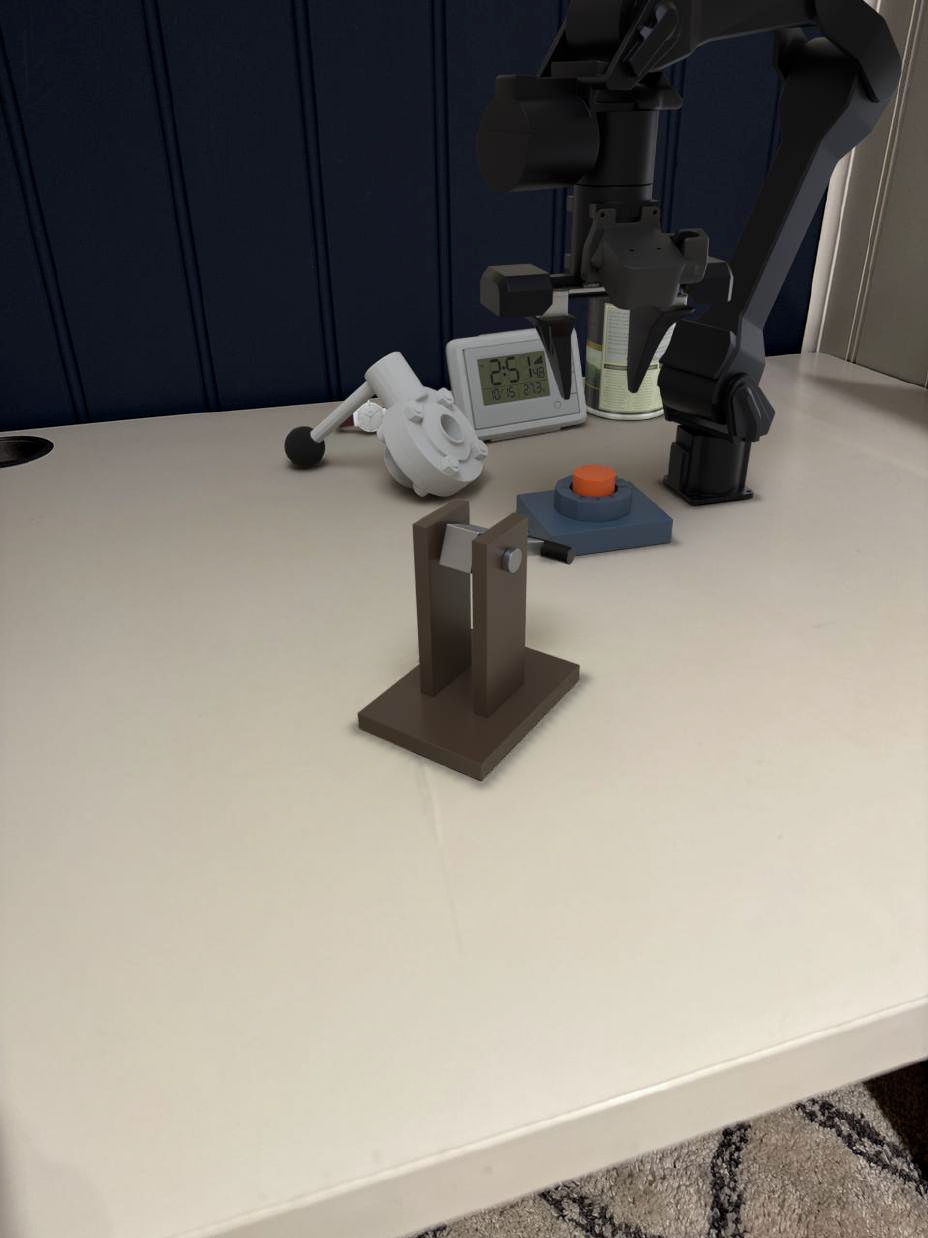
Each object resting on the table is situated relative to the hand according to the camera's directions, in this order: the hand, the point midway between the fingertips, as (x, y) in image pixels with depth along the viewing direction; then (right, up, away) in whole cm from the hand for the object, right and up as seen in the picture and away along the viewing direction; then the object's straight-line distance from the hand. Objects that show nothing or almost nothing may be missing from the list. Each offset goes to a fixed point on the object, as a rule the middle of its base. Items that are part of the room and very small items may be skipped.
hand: (599, 395), depth 73 cm
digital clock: (-5, +3, +29) cm, 30 cm away
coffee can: (+8, +7, +36) cm, 37 cm away
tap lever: (-9, -15, -18) cm, 25 cm away
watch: (-22, +4, +31) cm, 38 cm away
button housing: (0, -10, +6) cm, 12 cm away
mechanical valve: (-20, -4, +17) cm, 26 cm away
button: (0, -7, +4) cm, 8 cm away
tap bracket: (-10, -24, -16) cm, 30 cm away
